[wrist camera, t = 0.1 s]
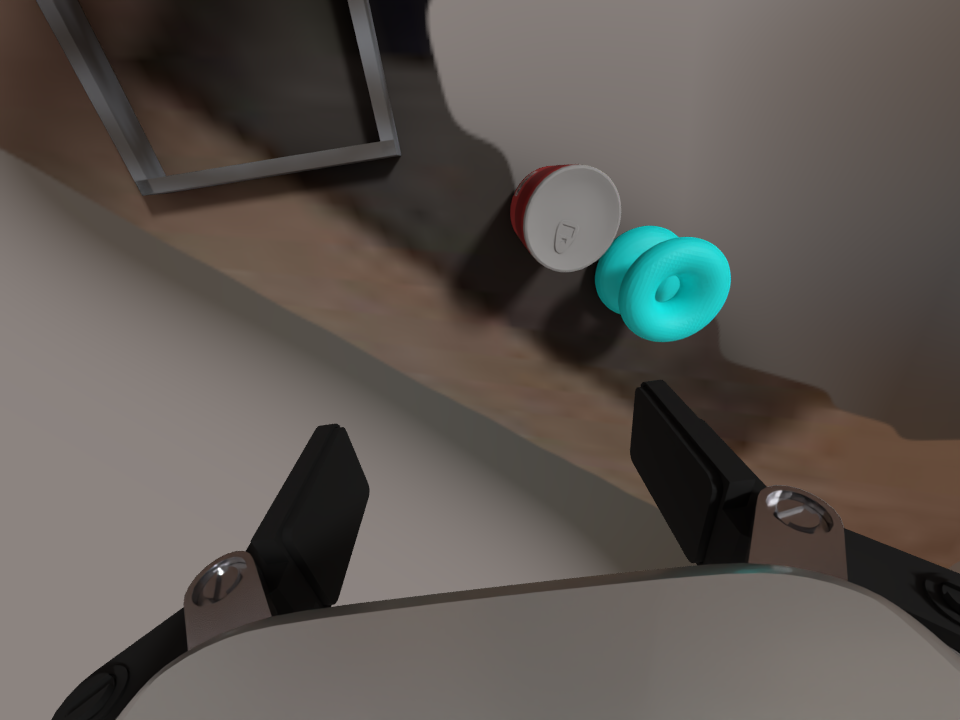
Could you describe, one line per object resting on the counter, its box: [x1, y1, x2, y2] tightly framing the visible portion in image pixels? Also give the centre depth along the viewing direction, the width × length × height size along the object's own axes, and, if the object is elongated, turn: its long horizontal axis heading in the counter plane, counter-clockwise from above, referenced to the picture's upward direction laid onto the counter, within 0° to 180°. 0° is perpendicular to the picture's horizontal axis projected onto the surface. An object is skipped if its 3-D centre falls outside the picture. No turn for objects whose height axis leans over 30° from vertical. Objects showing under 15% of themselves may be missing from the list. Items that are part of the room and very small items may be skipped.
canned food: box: [510, 164, 621, 272], centre depth 32 cm, size 8×8×11 cm
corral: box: [36, 0, 401, 196], centre depth 28 cm, size 23×24×2 cm
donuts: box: [595, 226, 731, 342], centre depth 36 cm, size 10×10×10 cm
